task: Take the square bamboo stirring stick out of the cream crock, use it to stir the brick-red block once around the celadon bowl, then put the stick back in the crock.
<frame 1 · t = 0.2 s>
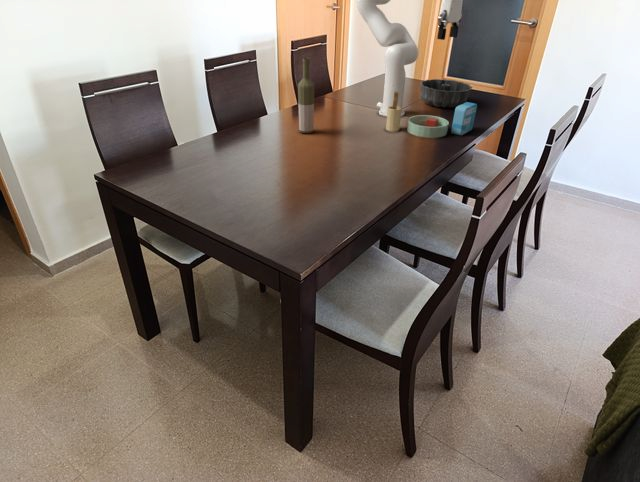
hand: (447, 38, 177), 37 cm above the table, tool pointing down, fingers open, 9 cm apart
block: (431, 128, 192), resting on bowl
stick: (392, 129, 190), point 1 cm above the table, touching crock
bundt pan: (442, 104, 228), on the table
bottle: (306, 132, 187), on the table
bowl: (426, 132, 189), on the table
crock: (392, 130, 190), on the table
data package: (461, 132, 189), on the table
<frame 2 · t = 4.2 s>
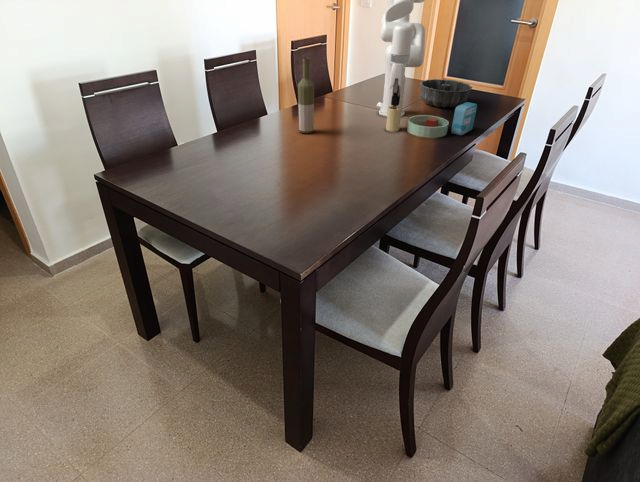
hand: (395, 104, 184), 11 cm above the table, tool pointing down, fingers closed on stick, 1 cm apart
stick: (392, 129, 190), point 1 cm above the table, touching crock, gripper
everything else where it was.
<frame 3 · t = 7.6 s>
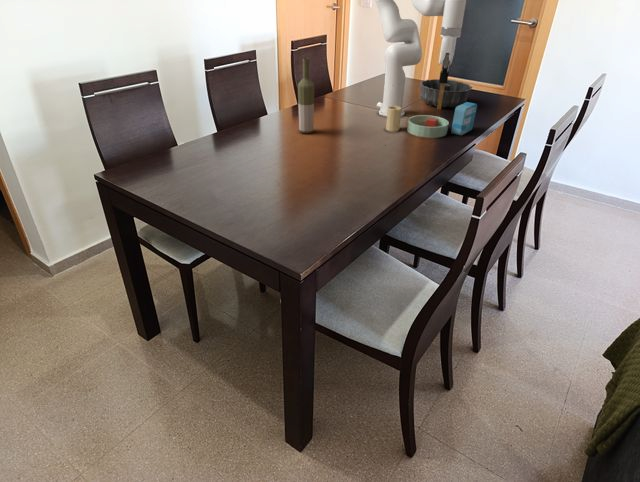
hand: (443, 82, 174), 22 cm above the table, tool pointing down, fingers closed on stick, 1 cm apart
stick: (438, 108, 180), point 11 cm above the table, touching gripper
everything else where it was.
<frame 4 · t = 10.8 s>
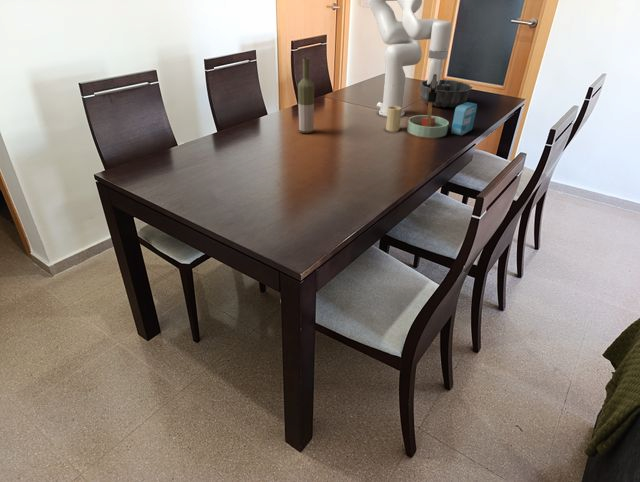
hand: (431, 100, 184), 13 cm above the table, tool pointing down, fingers closed on stick, 1 cm apart
block: (428, 127, 192), point 1 cm above the table, tilted 8°, touching bowl, stick
stick: (428, 126, 188), point 2 cm above the table, tilted 9°, touching block, gripper
everything else where it was.
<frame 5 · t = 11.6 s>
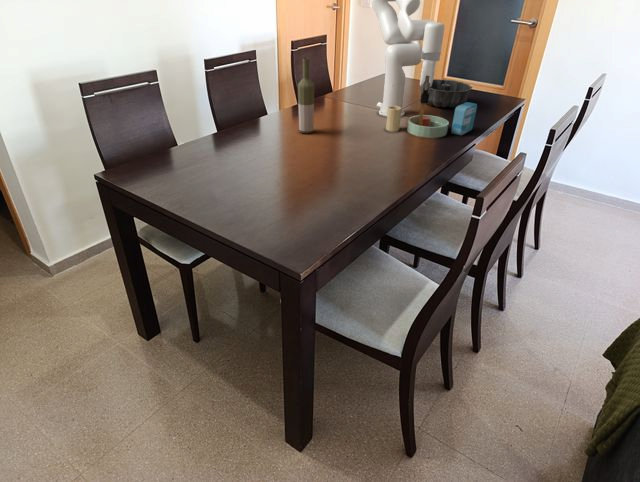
hand: (424, 102, 184), 12 cm above the table, tool pointing down, fingers closed on stick
block: (423, 127, 193), point 1 cm above the table, touching bowl, stick
stick: (419, 126, 190), point 2 cm above the table, touching block, gripper
everything else where it was.
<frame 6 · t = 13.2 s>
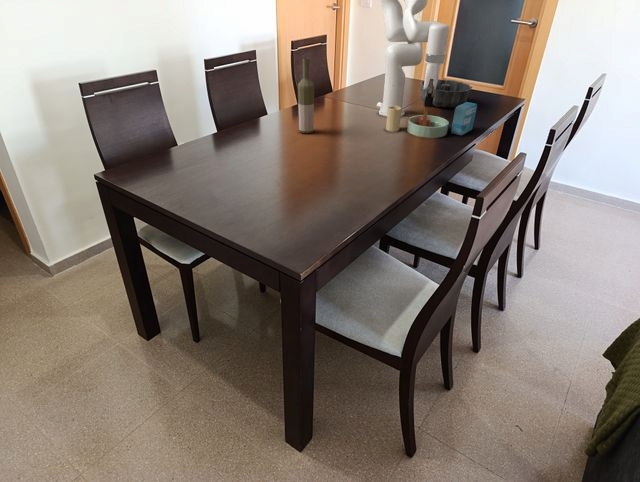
hand: (428, 105, 179), 12 cm above the table, tool pointing down, fingers closed on stick, 1 cm apart
block: (423, 127, 193), point 1 cm above the table, touching bowl
stick: (423, 130, 185), point 2 cm above the table, touching gripper
everything else where it was.
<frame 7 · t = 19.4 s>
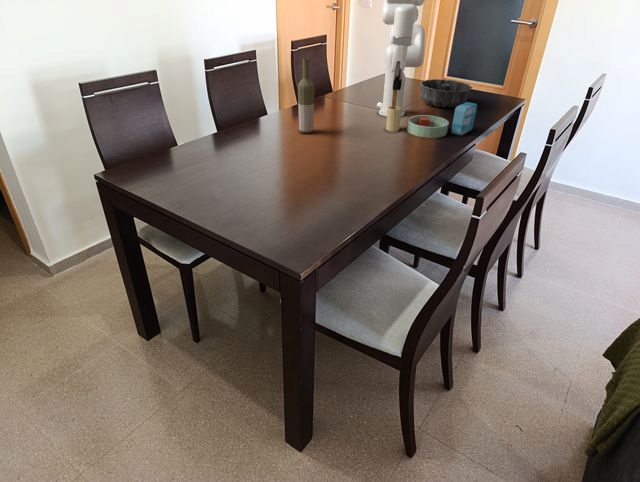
hand: (396, 88, 180), 18 cm above the table, tool pointing down, fingers closed on stick
stick: (393, 114, 186), point 7 cm above the table, touching gripper
everything else where it was.
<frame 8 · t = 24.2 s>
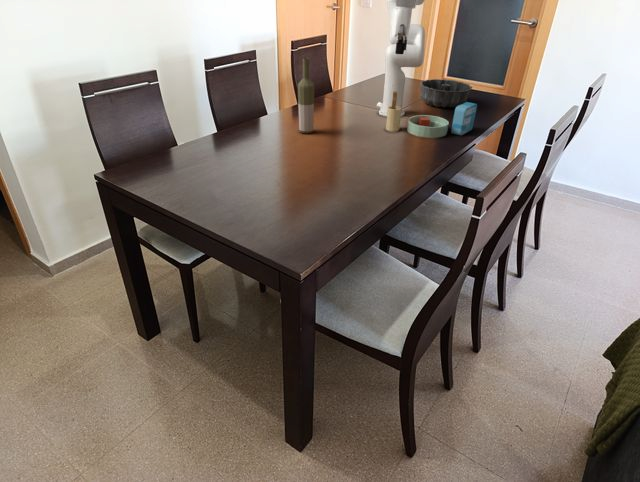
hand: (400, 52, 173), 32 cm above the table, tool pointing down, fingers open, 9 cm apart
stick: (391, 129, 190), point 1 cm above the table, touching crock
everything else where it was.
at the end: block moved 3.4 cm from its start; block inside the target area in the bowl (5.2 cm from its centre), point 0.5 cm above the bowl's base; stick 0.5 cm off-centre in the crock, point 0.6 cm above the crock's base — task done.
